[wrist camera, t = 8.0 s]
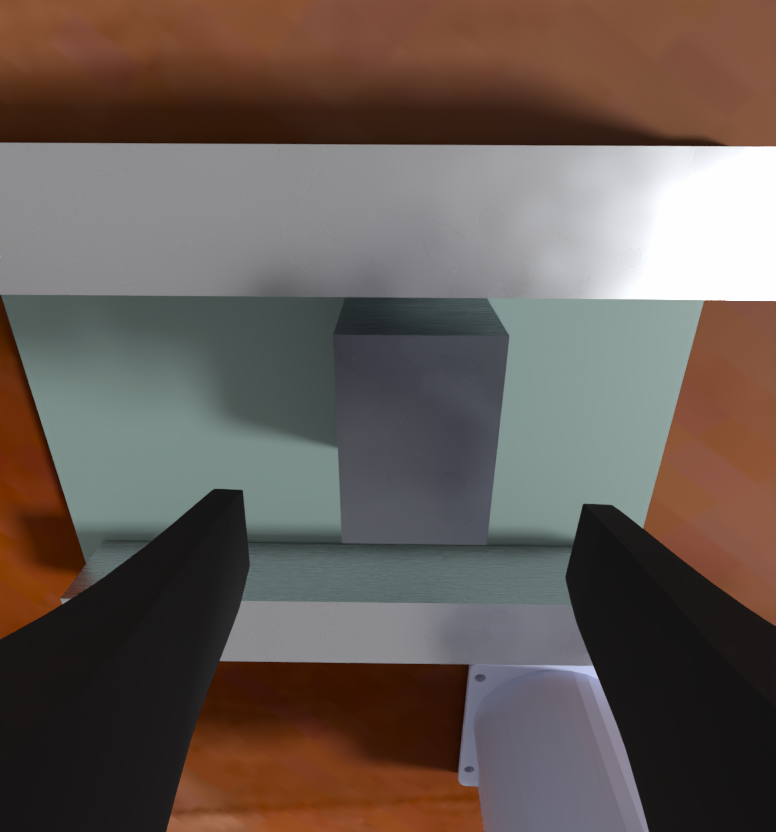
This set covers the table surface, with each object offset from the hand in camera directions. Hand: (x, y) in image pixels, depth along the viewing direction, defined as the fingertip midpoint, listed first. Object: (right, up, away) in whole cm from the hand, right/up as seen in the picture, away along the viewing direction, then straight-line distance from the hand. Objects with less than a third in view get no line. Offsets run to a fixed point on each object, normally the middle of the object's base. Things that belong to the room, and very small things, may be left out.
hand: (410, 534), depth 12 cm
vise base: (-2, +2, +8) cm, 9 cm away
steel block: (0, +4, +6) cm, 8 cm away
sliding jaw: (-2, -4, +10) cm, 11 cm away
